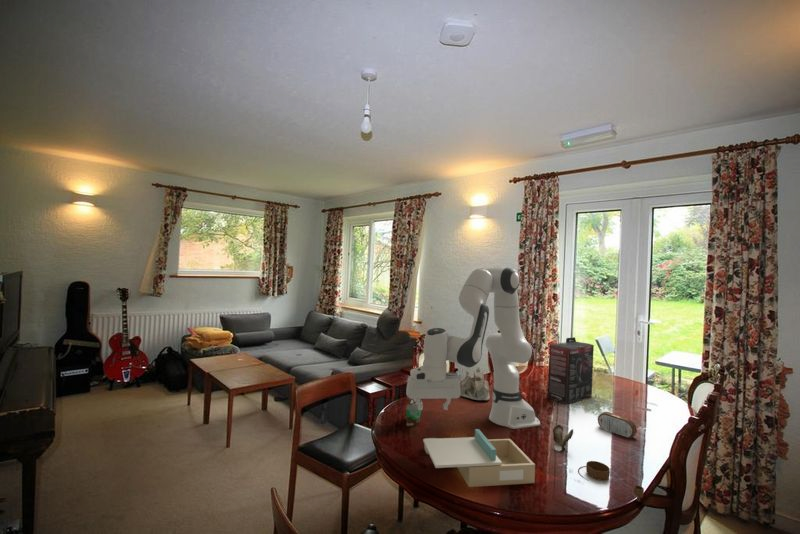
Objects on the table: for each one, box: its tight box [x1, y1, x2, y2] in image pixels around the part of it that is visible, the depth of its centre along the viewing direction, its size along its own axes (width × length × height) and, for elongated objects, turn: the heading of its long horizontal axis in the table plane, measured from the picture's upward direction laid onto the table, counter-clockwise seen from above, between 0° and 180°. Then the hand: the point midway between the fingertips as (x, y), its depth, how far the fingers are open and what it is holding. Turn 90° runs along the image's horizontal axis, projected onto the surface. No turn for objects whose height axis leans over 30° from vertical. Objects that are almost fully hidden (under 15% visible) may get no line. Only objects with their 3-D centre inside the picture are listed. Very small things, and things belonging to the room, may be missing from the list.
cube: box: [423, 437, 438, 455], centre depth 139 cm, size 4×4×4 cm
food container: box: [405, 399, 424, 428], centre depth 164 cm, size 12×6×10 cm, turn 168°
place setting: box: [577, 460, 645, 502], centre depth 121 cm, size 18×20×6 cm
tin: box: [597, 411, 638, 439], centre depth 161 cm, size 15×3×8 cm, turn 37°
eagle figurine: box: [552, 424, 574, 453], centre depth 144 cm, size 8×7×9 cm
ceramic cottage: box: [460, 366, 491, 401], centre depth 202 cm, size 16×16×15 cm
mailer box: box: [456, 438, 536, 488], centre depth 127 cm, size 22×18×7 cm
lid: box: [422, 428, 502, 469], centre depth 125 cm, size 22×18×4 cm
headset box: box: [546, 336, 595, 405], centre depth 207 cm, size 25×12×33 cm, turn 124°
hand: (432, 409), depth 139 cm, fingers open, 8 cm apart
